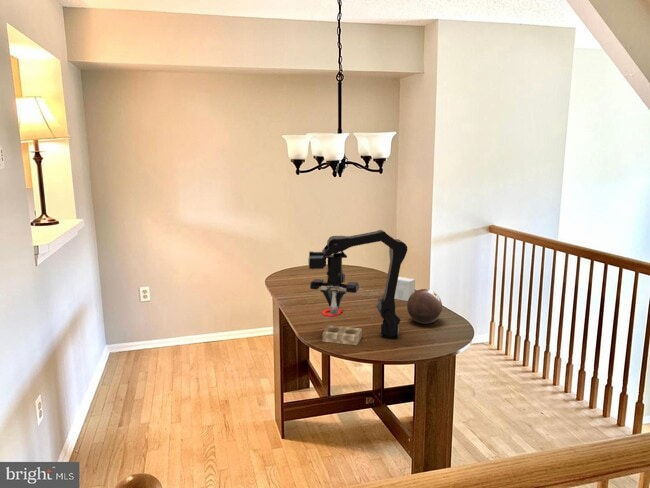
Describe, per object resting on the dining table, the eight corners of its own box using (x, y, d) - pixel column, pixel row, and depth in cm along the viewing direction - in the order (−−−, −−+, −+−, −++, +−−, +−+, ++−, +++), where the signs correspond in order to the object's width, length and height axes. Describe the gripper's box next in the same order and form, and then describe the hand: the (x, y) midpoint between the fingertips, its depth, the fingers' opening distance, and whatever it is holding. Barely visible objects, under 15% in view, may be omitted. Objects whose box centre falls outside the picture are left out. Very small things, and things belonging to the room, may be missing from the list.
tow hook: (333, 319, 217) (345, 312, 224) (332, 291, 214) (344, 286, 221) (318, 315, 222) (330, 309, 229) (317, 288, 219) (329, 283, 226)
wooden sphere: (442, 329, 203) (444, 295, 200) (406, 327, 205) (407, 293, 202) (440, 317, 217) (441, 285, 214) (406, 316, 220) (407, 284, 217)
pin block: (361, 336, 195) (361, 328, 194) (357, 345, 186) (357, 336, 186) (328, 333, 199) (328, 325, 198) (322, 341, 190) (322, 333, 189)
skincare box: (414, 298, 245) (415, 278, 243) (409, 301, 240) (409, 281, 238) (396, 295, 251) (397, 275, 249) (390, 298, 246) (391, 278, 244)
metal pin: (338, 312, 193) (339, 288, 191) (336, 315, 190) (337, 291, 189) (331, 312, 194) (331, 288, 192) (329, 314, 191) (329, 290, 189)
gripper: (362, 265, 194) (361, 302, 197) (318, 262, 199) (318, 298, 202) (356, 272, 183) (355, 311, 186) (309, 268, 188) (309, 306, 191)
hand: (334, 306), depth 192 cm, fingers closed on metal pin, 3 cm apart
